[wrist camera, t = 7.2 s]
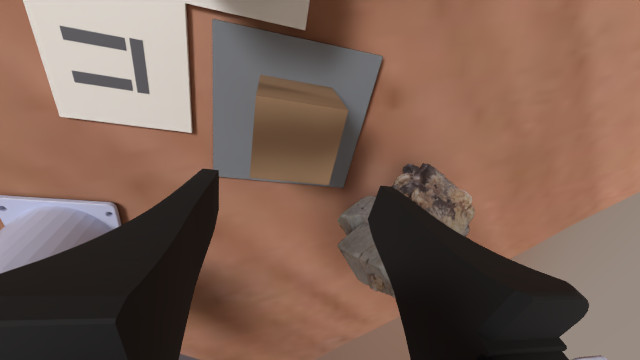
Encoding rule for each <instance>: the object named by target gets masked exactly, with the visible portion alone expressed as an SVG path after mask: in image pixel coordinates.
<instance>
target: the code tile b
mask: <svg viewBox="0 0 640 360" xmlns="http://www.w3.org/2000/svg"><path fill="white" fill-rule="evenodd" d="M173 1H178V2H182V3H187V4H191V5H195V6H200V7H204V8H209V9H213V10H218V11H222V12H226V13H231V14H235V15H240V16H244V17H248V18H253V19H257V20H262V21H266V22H270V23H275V24H279V25H284V26H288V27H292V28H297V29H301V30H305V28H306V22H307V15H308V9H309V2H310V0H173Z"/></svg>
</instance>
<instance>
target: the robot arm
mask: <svg viewBox="0 0 640 360" xmlns="http://www.w3.org/2000/svg"><path fill="white" fill-rule="evenodd" d="M218 210H219V170H211V169H202V170H200V171H199V172H198V173H197V174H196V175H194V176H193V177H192V178H191V179H190V180H188V181H187V182H186V183H185V184H184V185H182V186H181V187H180V188H179V189H177V190H176V191H175V192H173V193H172V194H171V195H170V196H168V197H167V198H165V199H164V200H163V201H161V202H160V203H158V204H157V205H155V206H154V207H153V208H151V209H149V210H148V211H146V212H145V213H143V214H141V215H139V216H138V217H136V218H134V219H132V220H131V221H129V222H127V223H125V224H123V225H121V221H120V217H119V213H118V209H117V206H116V205H115V204H113V203H111V202H98V201H83V200H67V199H52V198H36V197H20V196H5V195H0V218H1V220H2V222H3V224H4V225H5V227H4V228H3V229H1V230H0V360H178V359H179V355H180V350H181V345H182V341H183V336H184V332H185V327H186V323H187V318H188V314H189V310H190V305H191V301H192V297H193V293H194V289H195V285H196V282H197V279H198V275H199V273H200V270H201V267H202V264H203V261H204V258H205V255H206V253H207V250H208V247H209V244H210V241H211V238H212V235H213V232H214V229H215V224H216V220H217V215H218ZM109 212H111V213H112V214H111V213H109ZM368 223H369V227H370V231H371V235H372V238H373V241H374V243H375V246H376V248H377V251H378V253H379V256H380V258H381V260H382V263H383V265H384V268H385V270H386V273H387V275H388V277H389V280H390V283H391V285H392V288H393V291H394V295H395V298H396V302H397V305H398V308H399V312H400V316H401V320H402V324H403V327H404V331H405V336H406V340H407V345H408V349H409V354H410V358H411V360H569V359H568V358H567V357H566V356H565V354H564V353H563V352H562V351H565V350H566V349H567V347H566V345H565V344H564V342H563V341H562V340H561V339H560V338H559V337H560V336H561V335H562V334H564V333H565V332H566V331H567V330H568V329H570V328H571V327H572V326H574V324H576V323H577V322H578V321H580V320H581V319H582V318H583V317H584V315H585V314H586V313H587V311H588V308H589V303H588V300H587V299H586V298H585V297H584V296H583V295H582V294H580V293H579V292H578V291H577V290H576V289H575V288H574V287H573V286H571V285H570V284H569V283H567V282H566V281H563V280H561V279H558V278H555V277H552V276H550V275H547V274H544V273H541V272H539V271H536V270H533V269H531V268H528V267H526V266H524V265H521V264H519V263H517V262H514V261H512V260H510V259H507V258H505V257H503V256H501V255H499V254H497V253H495V252H493V251H491V250H489V249H487V248H485V247H483V246H481V245H479V244H477V243H475V242H473V241H472V240H470V239H468V238H466V237H465V236H463V235H461V234H460V233H458V232H456V231H455V230H453V229H451V228H450V227H448V226H447V225H445V224H444V223H442V222H441V221H440V220H438V219H437V218H435V217H434V216H432V215H431V214H430V213H428V212H427V211H425V210H424V209H423V208H421V207H420V206H419V205H417V204H416V203H415V202H413V201H412V200H411V199H409V198H408V197H407V196H405V195H404V194H403V193H401V192H400V191H398V190H397V189H395V188H393V187H388V186H380V188H379V191H378V194H377V196H376V199H375V201H374V204H373V206H372V209H371V212H370V214H369V217H368ZM572 360H607V359H606V358H605V357H604V356H589V357H579V358H575V359H572Z"/></svg>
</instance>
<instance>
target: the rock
mask: <svg viewBox="0 0 640 360" xmlns="http://www.w3.org/2000/svg"><path fill="white" fill-rule="evenodd" d="M403 172H404V174H402V175H400V176H399V177H397V179H396V180H395V181H394V185H392V187H393V188H395V189H397V190H398V191H400V192H401V193H403V194H404V195H405V196H407V197H408V198H409V199H411V200H412V201H413V202H415V203H416V204H417V205H419V206H420V207H421V208H423V209H424V210H425V211H427V212H428V213H430V214H431V215H432V216H434V217H435V218H437V219H438V220H440V221H441V222H442V223H444V224H445V225H447V226H448V227H450V228H451V229H453V230H455V231H456V232H458V233H460V234H461V235H463V236H466V235H467V234H468V232H469V225H468V223H470V221H471V219H472V218H473V217H474V212H475V210H474V207H472V206H471V204H472V197H471V196H470V195H469V194H468V193H467V192H466V191H464V190H460V189H458V188H457V187H456V186H455V185H454V184H453V183H451V182H450V181H449V180H447V179H446V178H445V175H443V174H441V173H440V172H439V171H437V170H436V169H435V168H434V167H432V166H431V165H429V164H424V163H423V164H422V166H421V167H420V168H419V167H417V166H414V165H412V164H407V165H406V166H405V167H404V168H403ZM375 199H376V196H367V197H364V198H361V199H360V200H359V201H358V202H357V203H355V204H354V205H352V206H351V207H350V208H348V209H347V210H346V211H344V212H343V213H342V214H341V215H340V217H339V218H338V223H339V224H340V227H341V228H342V229H344V231H345V233H346V235H347V236H346V237H345V238H344V239H343V240H342V241H341V242H340V243H339V244H338V245H337V246H338V247H339V249H340V251H341V253H342V254H343V256H344V257H345V259H346V261H347V262H348V264H349V266H350V267H351V269H352V270H353V272H354V274H355V275H356V277H357V279H358V280H359V281H361V282H362V283H364V284H366V285H369V286H370V288H371V289H373V290H375V291H380V292H383V293H386V294H389V295H391V296H393V297H395V295H394V291H393V288H392V285H391V283H390V280H389V277H388V275H387V273H386V270H385V268H384V265H383V263H382V260H381V258H380V256H379V253H378V251H377V248H376V246H375V243H374V241H373V238H372V235H371V231H370V227H369V223H368V217H369V214H370V212H371V209H372V206H373V204H374V201H375Z"/></svg>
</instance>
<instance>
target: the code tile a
mask: <svg viewBox="0 0 640 360" xmlns="http://www.w3.org/2000/svg"><path fill="white" fill-rule="evenodd" d="M23 2H24V5H25V8H26V11H27V14H28V18H29V21H30V24H31V27H32V30H33V33H34V36H35V40H36V43H37V46H38V49H39V52H40V55H41V59H42V62H43V65H44V68H45V71H46V74H47V77H48V81H49V84H50V87H51V90H52V93H53V96H54V99H55V103H56V106H57V109H58V112H59V115H60V117H67V118H75V119H83V120H91V121H100V122H108V123H116V124H124V125H132V126H140V127H148V128H156V129H164V130H172V131H180V132H188V133H192V131H193V129H192V109H191V89H190V69H189V49H188V29H187V9H186V3H182V2H178V1H173V0H23Z"/></svg>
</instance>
